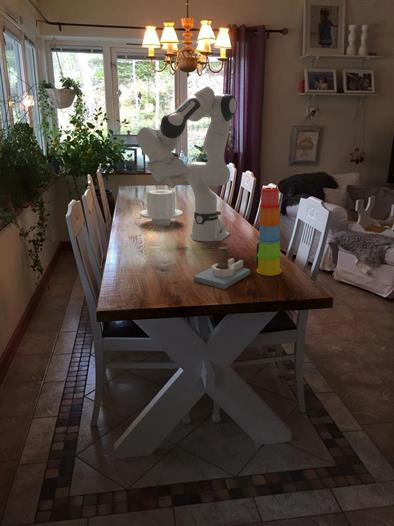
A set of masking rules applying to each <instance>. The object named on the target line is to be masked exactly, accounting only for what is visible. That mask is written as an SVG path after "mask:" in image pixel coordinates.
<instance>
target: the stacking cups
mask: <svg viewBox="0 0 394 526" xmlns="http://www.w3.org/2000/svg"><path fill="white" fill-rule="evenodd" d="M259 208H260V209H259V215H260V218H259V222H258V225H259V235H258V238H257V241H258V242H259V253H258V254H257V256H258V264H257V268H256V272H257V274H259V275H261V276H266V277H267V276H268V277H269V276H272V277H273V276H278V275H280V274H281V273H282V269H281V267H280V266H281V257H282V254H281V243H280V242H281V240H282V239H281V237H280V231H281V229H280V225H281V223H282V222H281V221H280V208H281V205H280V190H279V188H278V187H263V188H262V189H261V191H260V205H259Z"/></svg>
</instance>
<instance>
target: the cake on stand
mask: <svg viewBox="0 0 394 526" xmlns="http://www.w3.org/2000/svg"><path fill="white" fill-rule="evenodd" d="M139 216H140V217H141V218H144V219H149V220H151V226H153V225H157V226H159V227H160V226H162V227H164V226H165V227H168V226H170V224H171V221H172V220H171V219H176V218H177V219H178V218H180V217H182V216H183V211H182V210H181V209H178V208H176V193H175V191H173V190H170V189H154V190H152V189H151V190H149V191H147V192H146V209H143V210H141V211H140V212H139ZM157 226H156V227H157Z"/></svg>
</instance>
